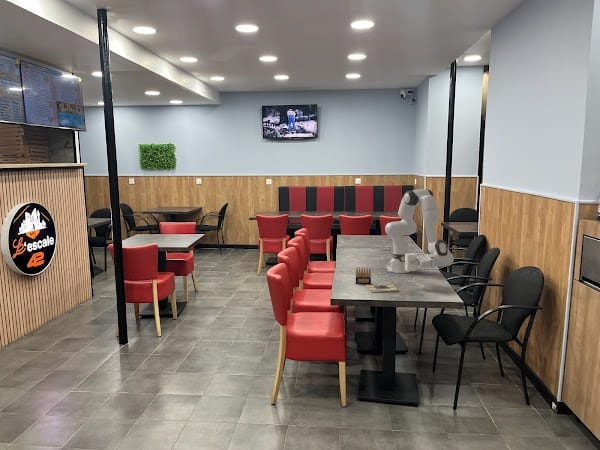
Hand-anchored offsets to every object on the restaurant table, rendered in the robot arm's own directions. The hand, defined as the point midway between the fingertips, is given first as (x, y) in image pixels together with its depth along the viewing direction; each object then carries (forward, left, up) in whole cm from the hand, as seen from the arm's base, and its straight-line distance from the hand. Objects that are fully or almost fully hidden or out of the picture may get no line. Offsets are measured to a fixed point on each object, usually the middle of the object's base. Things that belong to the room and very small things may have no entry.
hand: (409, 261), depth 298 cm
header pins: (+1, -19, -17) cm, 25 cm away
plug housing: (0, +1, -6) cm, 6 cm away
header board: (+1, -19, -18) cm, 26 cm away
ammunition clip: (-13, -28, -18) cm, 36 cm away
